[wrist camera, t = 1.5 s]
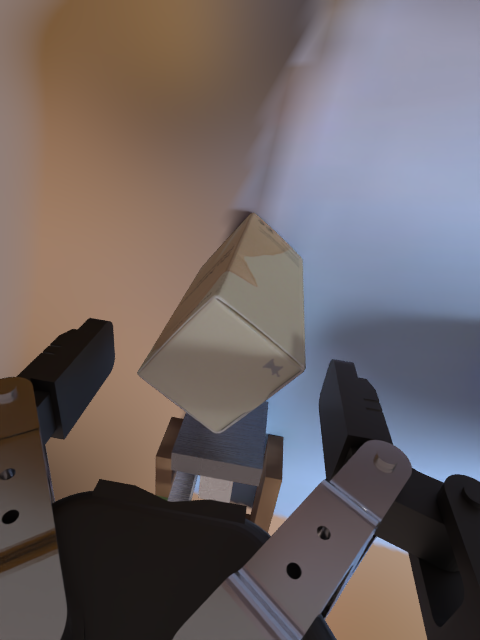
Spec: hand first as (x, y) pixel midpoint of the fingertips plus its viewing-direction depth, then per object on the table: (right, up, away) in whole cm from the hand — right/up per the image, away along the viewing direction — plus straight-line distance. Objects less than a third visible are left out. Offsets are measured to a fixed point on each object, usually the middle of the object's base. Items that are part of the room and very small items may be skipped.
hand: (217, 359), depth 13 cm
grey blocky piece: (0, -7, +16) cm, 17 cm away
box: (+1, +5, +9) cm, 11 cm away
